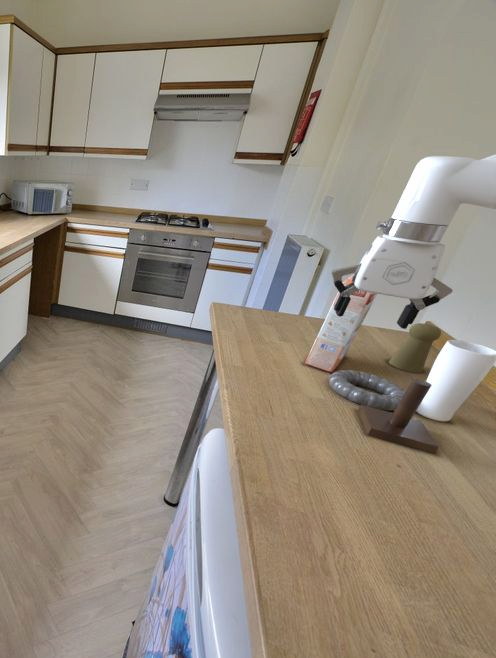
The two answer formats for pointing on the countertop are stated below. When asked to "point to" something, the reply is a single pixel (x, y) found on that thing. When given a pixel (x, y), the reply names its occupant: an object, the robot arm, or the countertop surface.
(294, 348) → the countertop surface
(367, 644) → the countertop surface
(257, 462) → the countertop surface
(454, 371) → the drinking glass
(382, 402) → the grey ridged ring
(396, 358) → the olive pawn shaped figure
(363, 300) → the cracker box
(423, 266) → the robot arm
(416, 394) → the post
